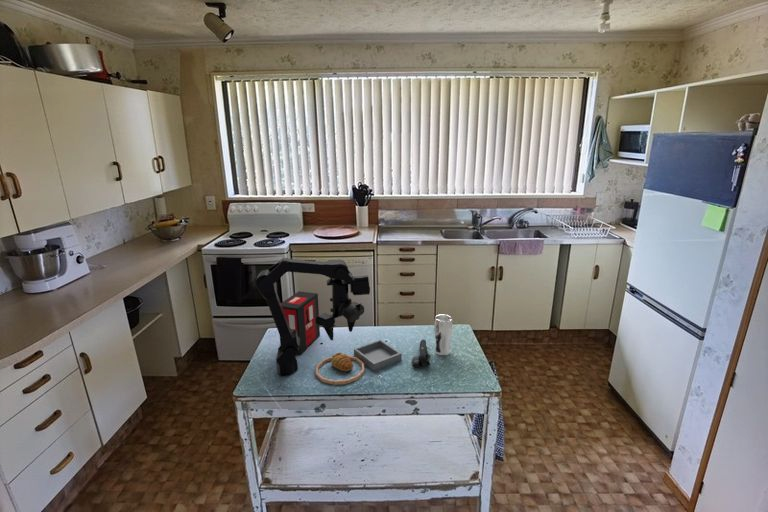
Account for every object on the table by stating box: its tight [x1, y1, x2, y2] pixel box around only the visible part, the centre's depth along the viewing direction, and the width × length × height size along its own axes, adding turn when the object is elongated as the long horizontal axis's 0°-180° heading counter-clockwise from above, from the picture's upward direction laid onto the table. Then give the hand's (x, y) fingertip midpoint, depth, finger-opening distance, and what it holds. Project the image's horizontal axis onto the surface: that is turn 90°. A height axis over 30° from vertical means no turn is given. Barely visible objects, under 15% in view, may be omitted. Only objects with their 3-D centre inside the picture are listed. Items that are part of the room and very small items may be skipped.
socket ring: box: [315, 354, 365, 386], centre depth 143 cm, size 17×17×1 cm
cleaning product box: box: [279, 291, 321, 356], centre depth 159 cm, size 16×9×20 cm, turn 162°
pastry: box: [330, 352, 354, 372], centre depth 144 cm, size 9×7×4 cm
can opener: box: [411, 339, 432, 368], centre depth 151 cm, size 18×7×6 cm, turn 170°
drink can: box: [433, 313, 453, 356], centre depth 153 cm, size 7×7×15 cm
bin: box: [353, 339, 403, 372], centre depth 151 cm, size 13×14×3 cm
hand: (341, 335), depth 142 cm, fingers open, 9 cm apart
